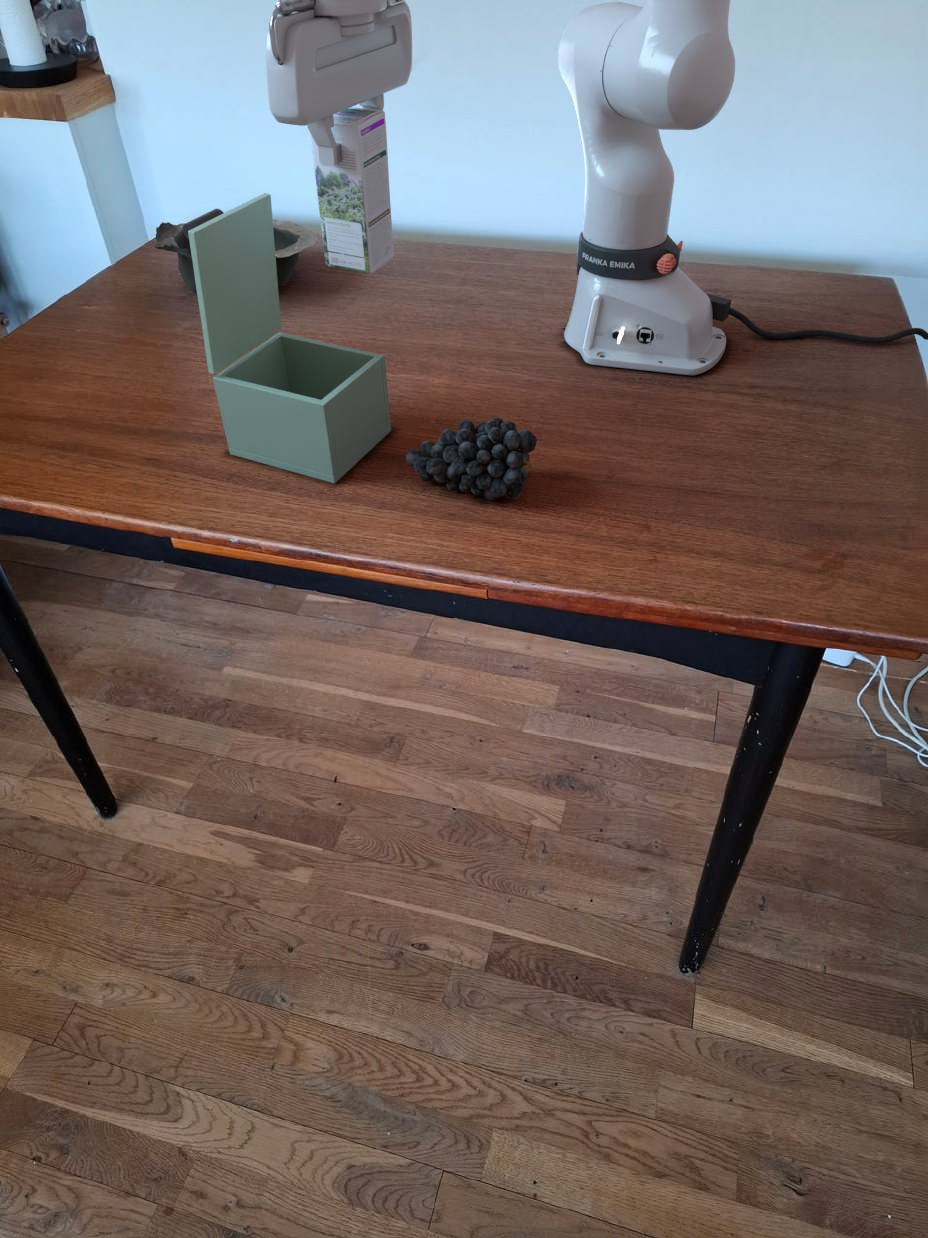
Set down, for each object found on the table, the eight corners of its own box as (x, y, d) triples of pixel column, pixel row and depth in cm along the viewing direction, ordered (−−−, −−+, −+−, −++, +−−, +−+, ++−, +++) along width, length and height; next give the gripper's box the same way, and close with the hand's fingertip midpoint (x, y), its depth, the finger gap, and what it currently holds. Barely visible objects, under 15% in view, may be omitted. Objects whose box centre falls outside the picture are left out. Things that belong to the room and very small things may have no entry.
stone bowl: (147, 310, 136) (131, 247, 130) (193, 261, 155) (181, 204, 150) (307, 307, 135) (298, 243, 129) (333, 258, 154) (326, 200, 148)
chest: (391, 430, 109) (385, 354, 102) (334, 483, 100) (323, 405, 94) (291, 405, 114) (279, 331, 107) (229, 454, 105) (212, 377, 99)
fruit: (393, 413, 94) (531, 431, 90) (420, 401, 101) (549, 416, 97) (391, 493, 97) (524, 513, 93) (417, 475, 104) (542, 493, 101)
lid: (270, 194, 96) (232, 183, 97) (194, 232, 87) (153, 220, 89) (281, 329, 107) (247, 317, 108) (214, 374, 98) (178, 361, 100)
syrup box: (396, 257, 97) (387, 107, 87) (370, 276, 93) (357, 122, 83) (350, 249, 99) (337, 102, 89) (323, 268, 95) (306, 115, 85)
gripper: (299, 4, 71) (319, 187, 81) (421, -26, 85) (426, 134, 94) (236, -1, 74) (263, 178, 83) (365, -29, 87) (375, 127, 96)
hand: (350, 154), depth 89 cm, fingers closed on syrup box, 5 cm apart
